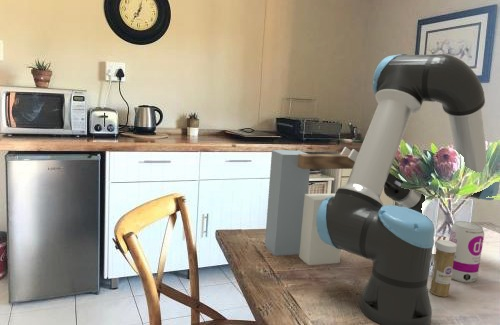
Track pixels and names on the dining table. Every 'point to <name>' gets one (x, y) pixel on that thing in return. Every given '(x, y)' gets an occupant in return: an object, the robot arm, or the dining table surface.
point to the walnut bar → (325, 161)
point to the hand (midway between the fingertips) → (347, 152)
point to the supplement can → (466, 250)
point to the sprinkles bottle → (443, 267)
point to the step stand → (295, 213)
